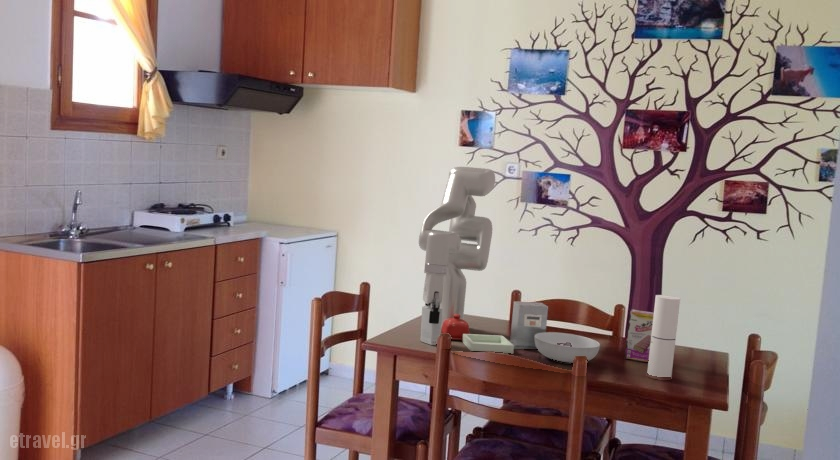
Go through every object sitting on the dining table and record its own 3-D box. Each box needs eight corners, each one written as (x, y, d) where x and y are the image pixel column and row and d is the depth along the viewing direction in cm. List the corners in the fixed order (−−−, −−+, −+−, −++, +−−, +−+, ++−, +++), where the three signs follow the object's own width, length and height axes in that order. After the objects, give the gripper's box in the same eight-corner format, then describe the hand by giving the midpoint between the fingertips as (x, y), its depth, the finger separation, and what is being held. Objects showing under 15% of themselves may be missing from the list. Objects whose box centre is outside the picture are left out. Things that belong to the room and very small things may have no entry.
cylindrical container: (657, 381, 229) (666, 299, 227) (641, 374, 236) (650, 294, 234) (676, 380, 232) (685, 299, 230) (660, 373, 239) (668, 295, 237)
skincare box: (440, 344, 254) (444, 308, 253) (430, 345, 251) (433, 309, 250) (429, 340, 258) (432, 305, 257) (418, 341, 255) (421, 305, 254)
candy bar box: (624, 359, 254) (629, 311, 252) (625, 356, 258) (630, 308, 257) (659, 365, 250) (664, 316, 249) (659, 361, 255) (665, 313, 253)
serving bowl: (594, 372, 234) (597, 350, 233) (527, 361, 240) (529, 340, 239) (601, 358, 253) (603, 337, 253) (538, 348, 260) (540, 328, 259)
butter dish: (474, 342, 261) (476, 318, 261) (441, 341, 259) (443, 316, 259) (467, 335, 273) (469, 311, 272) (435, 333, 271) (437, 310, 270)
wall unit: (506, 342, 264) (510, 300, 263) (539, 344, 266) (543, 302, 265) (513, 349, 256) (517, 305, 254) (547, 350, 258) (552, 307, 256)
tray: (462, 341, 260) (462, 333, 260) (501, 343, 263) (502, 335, 262) (471, 351, 247) (472, 343, 246) (513, 353, 249) (513, 345, 249)
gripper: (420, 265, 260) (415, 315, 261) (429, 271, 243) (424, 324, 244) (441, 267, 261) (437, 316, 262) (452, 273, 244) (447, 326, 245)
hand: (431, 320), depth 253 cm, fingers open, 9 cm apart
